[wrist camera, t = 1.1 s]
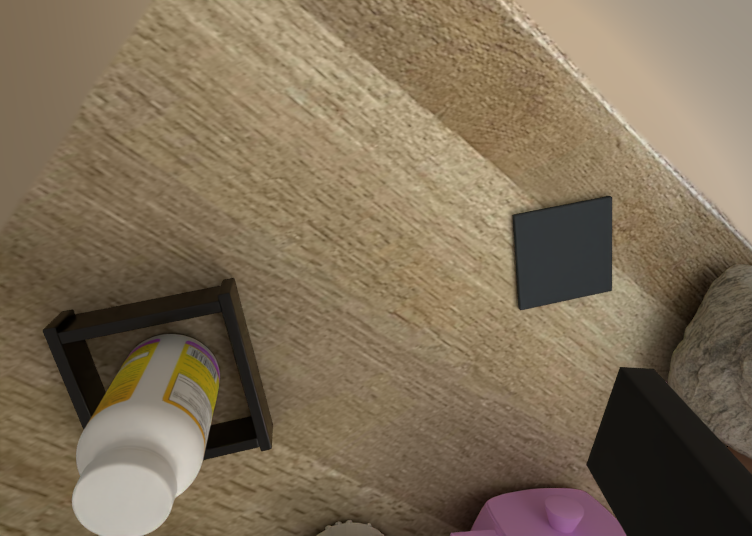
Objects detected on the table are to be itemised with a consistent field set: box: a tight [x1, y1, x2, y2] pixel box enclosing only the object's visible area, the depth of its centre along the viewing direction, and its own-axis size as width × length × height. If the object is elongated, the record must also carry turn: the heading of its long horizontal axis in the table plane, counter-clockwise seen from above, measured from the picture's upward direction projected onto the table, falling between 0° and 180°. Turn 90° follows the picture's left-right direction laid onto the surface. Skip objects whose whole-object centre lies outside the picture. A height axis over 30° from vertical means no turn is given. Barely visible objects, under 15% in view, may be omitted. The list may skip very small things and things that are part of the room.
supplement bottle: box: [72, 334, 220, 536], centre depth 32 cm, size 7×7×13 cm
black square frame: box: [43, 278, 273, 460], centre depth 36 cm, size 12×12×3 cm
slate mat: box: [513, 196, 612, 310], centre depth 39 cm, size 8×8×1 cm
